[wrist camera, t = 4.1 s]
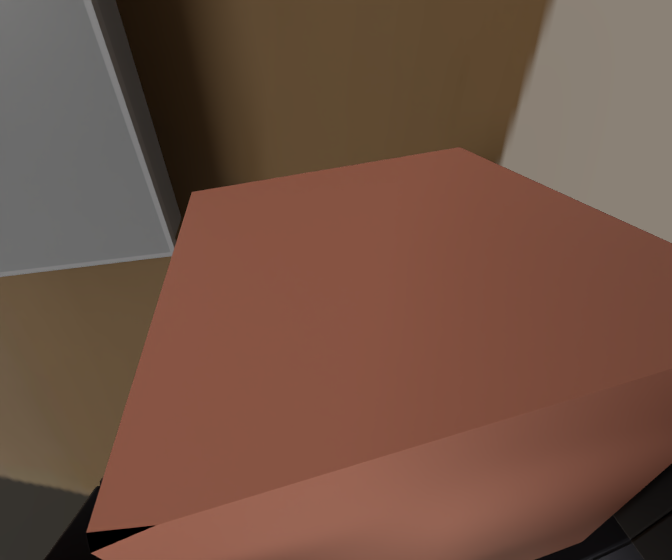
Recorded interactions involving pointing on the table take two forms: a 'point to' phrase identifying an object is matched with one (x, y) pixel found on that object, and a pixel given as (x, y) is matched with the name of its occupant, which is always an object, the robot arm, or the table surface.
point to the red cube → (392, 372)
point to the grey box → (76, 143)
